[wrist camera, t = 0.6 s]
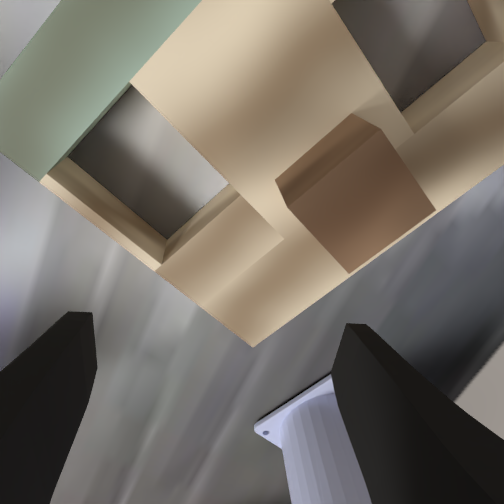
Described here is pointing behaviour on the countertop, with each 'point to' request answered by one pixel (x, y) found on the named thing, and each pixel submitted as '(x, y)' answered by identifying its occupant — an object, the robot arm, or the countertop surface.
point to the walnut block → (354, 192)
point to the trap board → (240, 131)
